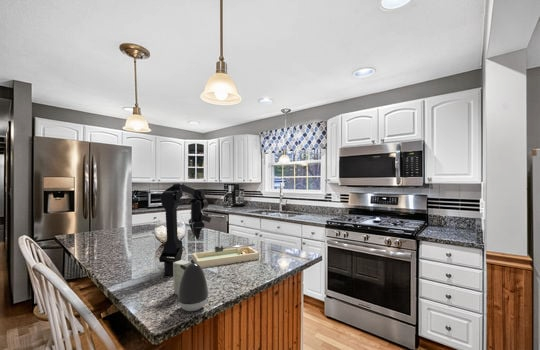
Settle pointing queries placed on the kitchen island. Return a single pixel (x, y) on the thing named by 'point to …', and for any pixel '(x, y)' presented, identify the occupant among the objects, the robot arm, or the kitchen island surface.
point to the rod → (221, 248)
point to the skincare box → (178, 273)
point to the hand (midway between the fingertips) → (196, 237)
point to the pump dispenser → (192, 288)
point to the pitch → (224, 257)
